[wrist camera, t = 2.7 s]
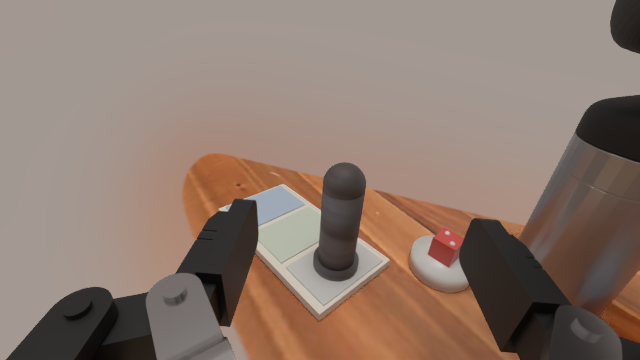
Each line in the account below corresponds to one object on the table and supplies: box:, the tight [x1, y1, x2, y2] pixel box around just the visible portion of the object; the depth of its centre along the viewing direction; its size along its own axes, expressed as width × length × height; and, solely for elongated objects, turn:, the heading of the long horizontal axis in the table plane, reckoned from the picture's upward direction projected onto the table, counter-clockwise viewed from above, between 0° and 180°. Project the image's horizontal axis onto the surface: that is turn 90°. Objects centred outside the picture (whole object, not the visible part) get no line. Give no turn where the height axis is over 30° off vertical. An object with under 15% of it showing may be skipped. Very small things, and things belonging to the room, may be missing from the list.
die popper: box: [409, 228, 469, 293], centre depth 34 cm, size 7×7×5 cm
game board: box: [218, 184, 390, 321], centre depth 38 cm, size 11×21×1 cm, turn 42°
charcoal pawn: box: [313, 163, 366, 282], centre depth 30 cm, size 5×5×12 cm
